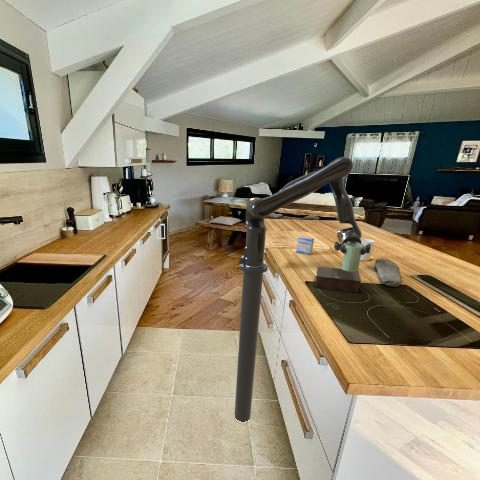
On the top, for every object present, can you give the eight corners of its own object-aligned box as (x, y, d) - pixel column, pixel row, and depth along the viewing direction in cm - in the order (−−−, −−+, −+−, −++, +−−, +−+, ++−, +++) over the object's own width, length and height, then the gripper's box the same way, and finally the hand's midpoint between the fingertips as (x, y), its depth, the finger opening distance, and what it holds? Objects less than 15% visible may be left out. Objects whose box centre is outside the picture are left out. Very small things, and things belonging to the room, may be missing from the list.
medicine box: (295, 252, 179) (297, 237, 176) (298, 251, 183) (300, 236, 179) (309, 254, 175) (312, 239, 172) (312, 253, 178) (314, 238, 175)
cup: (341, 270, 126) (345, 246, 123) (341, 266, 132) (345, 243, 128) (358, 272, 124) (363, 247, 120) (357, 267, 129) (362, 244, 126)
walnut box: (314, 287, 129) (316, 275, 127) (315, 276, 141) (317, 266, 139) (358, 293, 123) (361, 281, 121) (356, 281, 135) (358, 270, 133)
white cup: (355, 260, 165) (358, 241, 162) (353, 256, 172) (357, 238, 168) (371, 261, 163) (376, 242, 159) (369, 257, 169) (373, 239, 166)
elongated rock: (376, 288, 131) (404, 293, 127) (380, 276, 128) (408, 281, 125) (371, 262, 160) (393, 265, 156) (374, 252, 157) (397, 255, 154)
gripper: (334, 232, 138) (335, 240, 124) (371, 235, 133) (376, 244, 119) (331, 249, 141) (332, 259, 127) (367, 252, 136) (372, 262, 122)
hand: (353, 251), depth 123 cm, fingers closed on cup, 6 cm apart
